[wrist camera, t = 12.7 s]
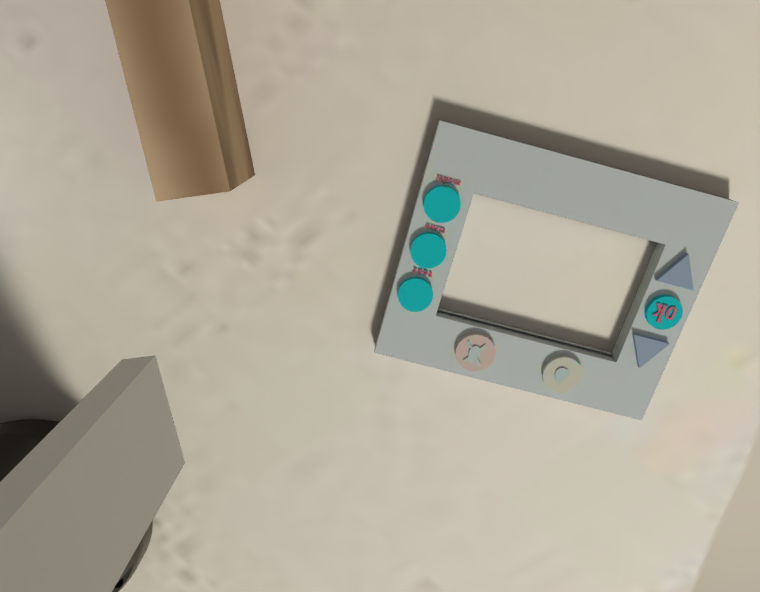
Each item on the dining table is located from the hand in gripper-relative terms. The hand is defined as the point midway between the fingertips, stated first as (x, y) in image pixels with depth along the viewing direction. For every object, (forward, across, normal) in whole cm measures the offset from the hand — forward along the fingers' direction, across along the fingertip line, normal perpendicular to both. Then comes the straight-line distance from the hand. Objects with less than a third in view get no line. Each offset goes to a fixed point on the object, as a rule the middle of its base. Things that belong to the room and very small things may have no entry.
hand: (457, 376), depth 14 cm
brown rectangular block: (+27, -12, +8) cm, 30 cm away
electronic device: (+28, +7, -7) cm, 29 cm away
